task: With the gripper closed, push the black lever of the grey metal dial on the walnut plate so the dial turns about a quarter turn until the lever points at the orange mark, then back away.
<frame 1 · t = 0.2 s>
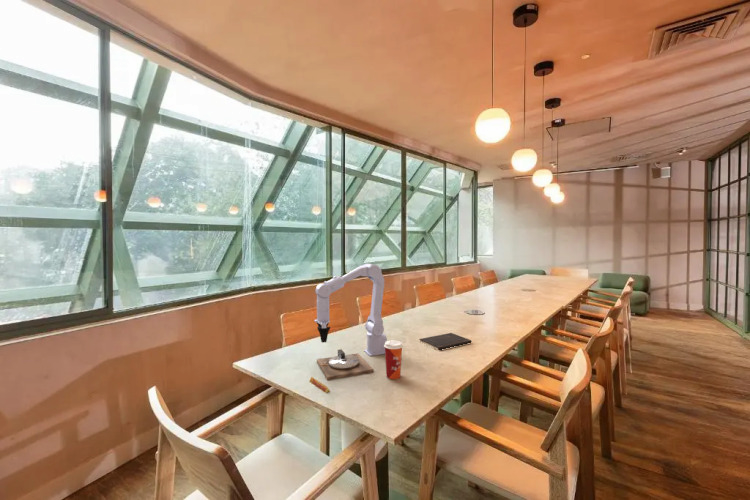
hand: (323, 339, 146), 10 cm above the table, tool pointing down, fingers open, 7 cm apart
black spiral notebook: (445, 344, 172), on the table
dial: (343, 358, 140), point 3 cm above the table, hinge at 0.0°
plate: (343, 366, 140), on the table
chocolate bar: (319, 387, 122), on the table
paper cup: (393, 376, 130), on the table
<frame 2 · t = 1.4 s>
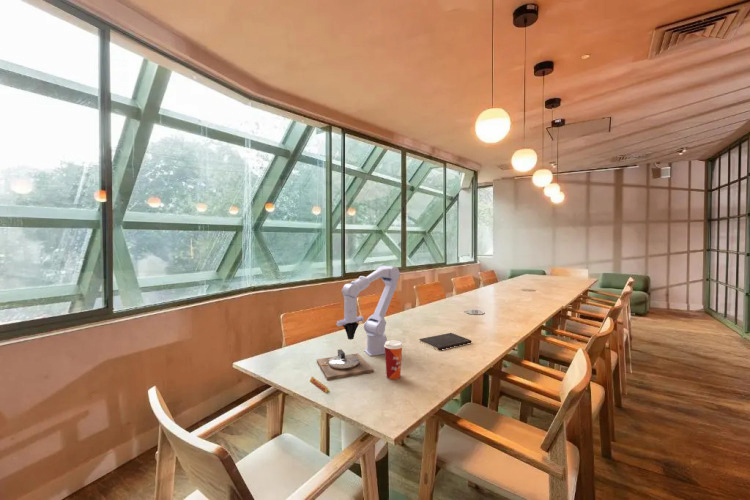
hand: (350, 338, 147), 10 cm above the table, tool pointing down, fingers closed
nothing on the table moved.
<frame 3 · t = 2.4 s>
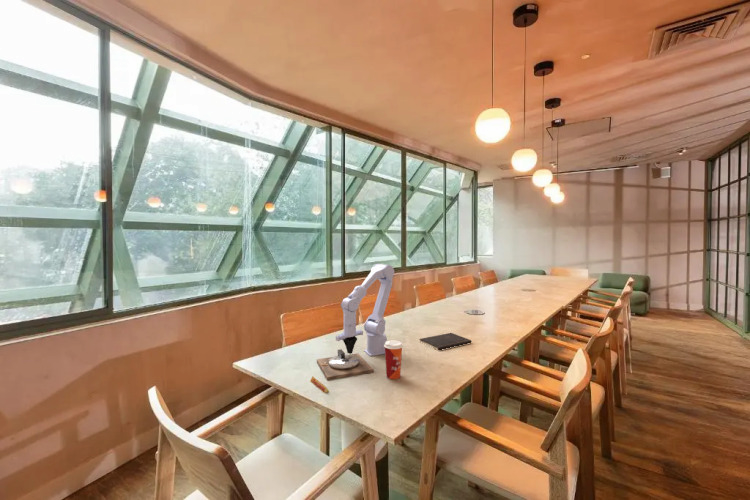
hand: (349, 352, 147), 3 cm above the table, tool pointing down, fingers closed
nothing on the table moved.
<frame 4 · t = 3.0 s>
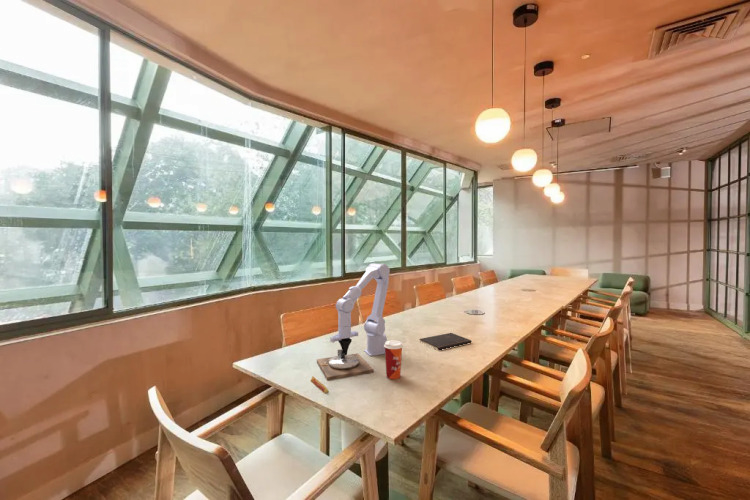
hand: (344, 354, 145), 3 cm above the table, tool pointing down, fingers closed, pressing on dial
dial: (343, 358, 140), point 3 cm above the table, hinge at 0.2°, touching gripper
everything else where it was.
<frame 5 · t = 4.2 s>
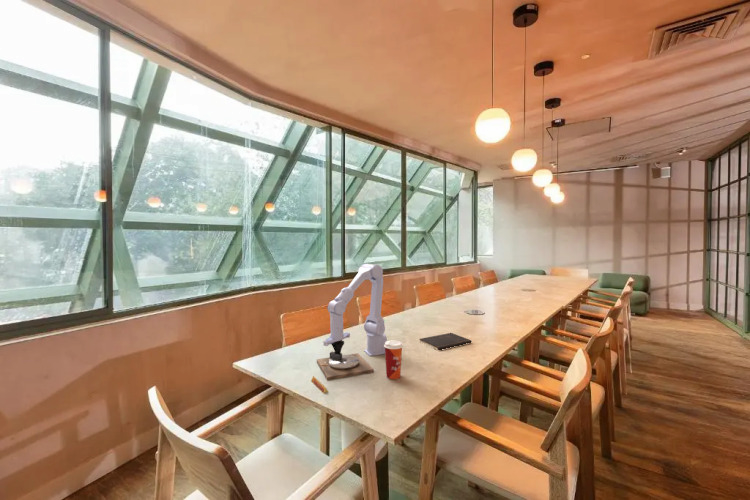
hand: (337, 356, 143), 3 cm above the table, tool pointing down, fingers closed, pressing on dial
dial: (343, 358, 140), point 3 cm above the table, hinge at 40.6°, touching gripper
everything else where it was.
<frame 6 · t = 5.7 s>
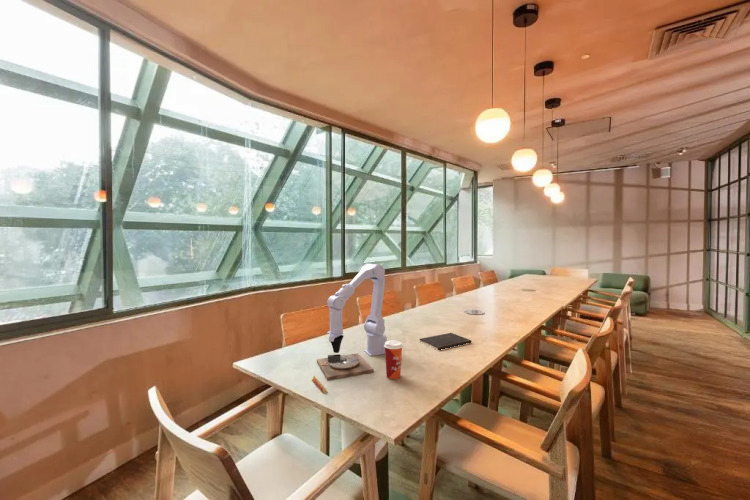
hand: (336, 352, 143), 5 cm above the table, tool pointing down, fingers closed
dial: (343, 359, 140), point 3 cm above the table, hinge at 79.6°
everything else where it was.
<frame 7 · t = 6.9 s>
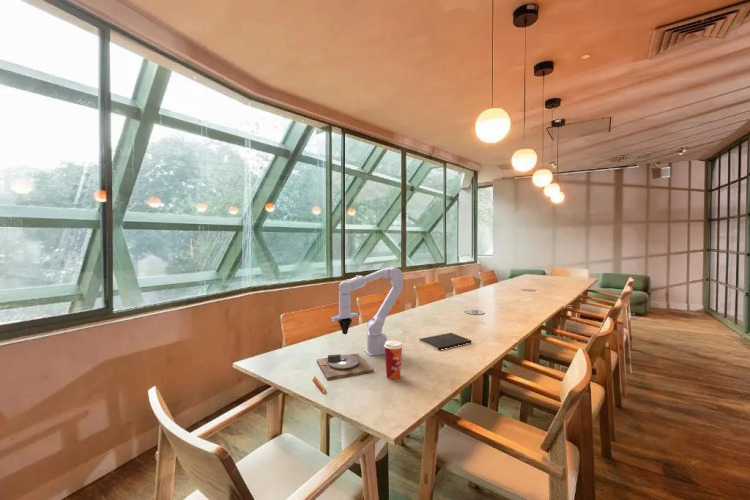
hand: (344, 333, 155), 10 cm above the table, tool pointing down, fingers closed
nothing on the table moved.
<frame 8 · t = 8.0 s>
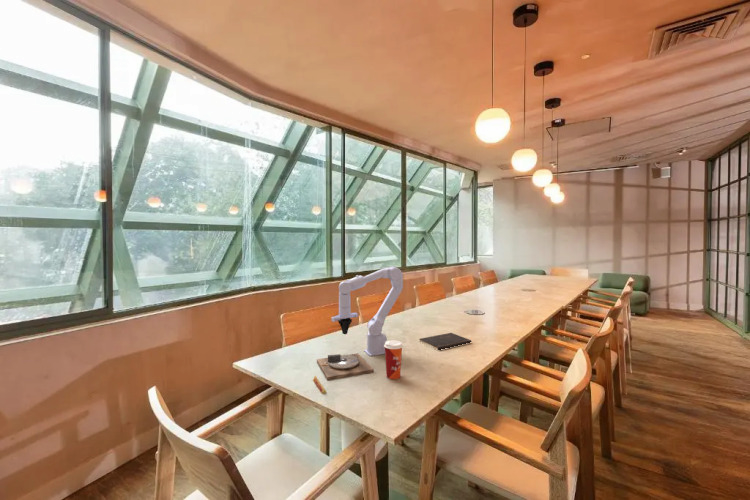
hand: (344, 333, 155), 10 cm above the table, tool pointing down, fingers closed
nothing on the table moved.
at the end: dial at +80° (first picture: +0°) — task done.
